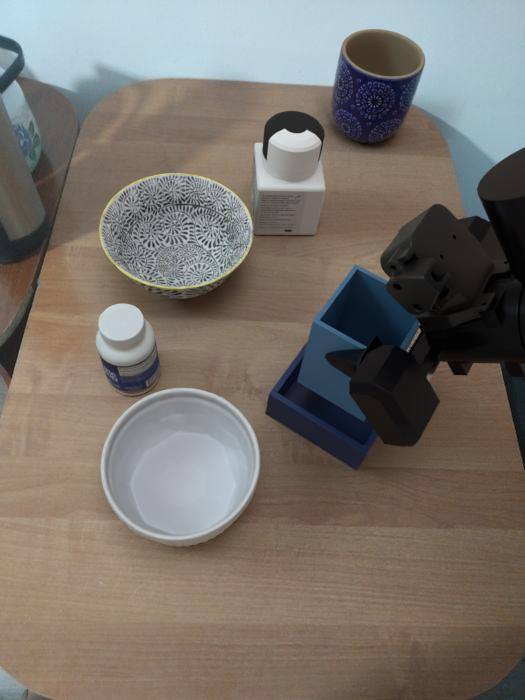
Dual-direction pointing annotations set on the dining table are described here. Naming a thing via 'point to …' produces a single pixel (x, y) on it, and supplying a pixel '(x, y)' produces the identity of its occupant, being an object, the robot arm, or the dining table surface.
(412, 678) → the dining table surface
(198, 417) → the ramekin
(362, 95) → the planter
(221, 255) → the bowl
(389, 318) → the blue bin
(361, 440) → the navy bin
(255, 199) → the container
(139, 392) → the pill bottle
